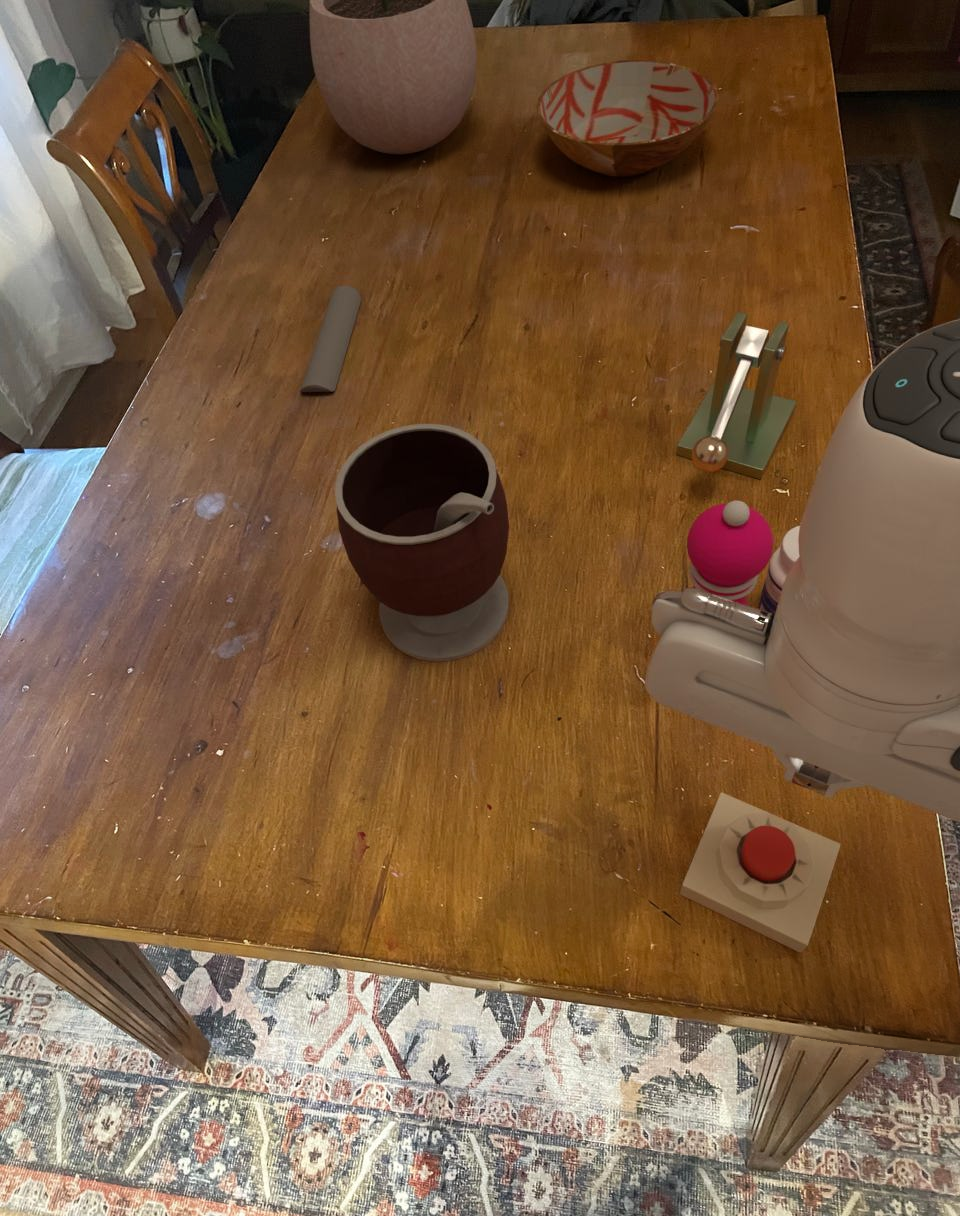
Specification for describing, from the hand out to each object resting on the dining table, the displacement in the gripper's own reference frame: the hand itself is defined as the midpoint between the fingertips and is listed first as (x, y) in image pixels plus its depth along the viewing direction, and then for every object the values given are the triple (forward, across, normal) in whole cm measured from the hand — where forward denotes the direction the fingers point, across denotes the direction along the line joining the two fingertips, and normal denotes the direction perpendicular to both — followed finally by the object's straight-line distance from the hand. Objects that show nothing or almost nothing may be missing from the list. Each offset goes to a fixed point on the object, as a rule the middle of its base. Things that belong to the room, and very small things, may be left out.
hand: (810, 778), depth 50 cm
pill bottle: (+17, -5, +23) cm, 29 cm away
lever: (+10, -17, +40) cm, 44 cm away
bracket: (+16, -18, +44) cm, 50 cm away
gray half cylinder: (+16, -68, +40) cm, 80 cm away
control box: (+16, -1, -1) cm, 16 cm away
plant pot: (+16, -85, +87) cm, 123 cm away
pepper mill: (+17, -11, +16) cm, 25 cm away
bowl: (+16, -51, +93) cm, 107 cm away
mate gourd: (+16, -34, +10) cm, 39 cm away
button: (+13, -1, -1) cm, 13 cm away
